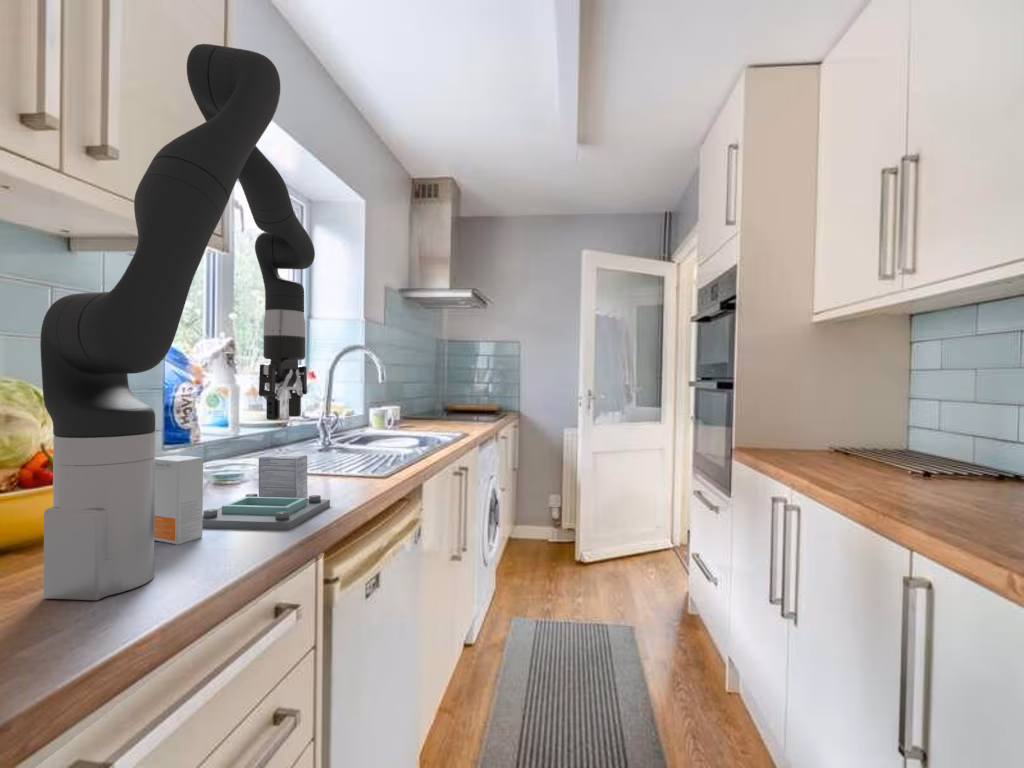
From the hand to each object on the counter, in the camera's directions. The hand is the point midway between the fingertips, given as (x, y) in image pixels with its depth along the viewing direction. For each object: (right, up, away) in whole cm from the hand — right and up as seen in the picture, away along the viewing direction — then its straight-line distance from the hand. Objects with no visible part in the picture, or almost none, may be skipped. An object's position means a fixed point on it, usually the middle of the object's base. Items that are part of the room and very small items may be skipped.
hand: (284, 418), depth 103 cm
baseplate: (+2, -16, -12) cm, 20 cm away
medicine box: (0, -16, 0) cm, 16 cm away
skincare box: (-5, -16, -26) cm, 31 cm away
